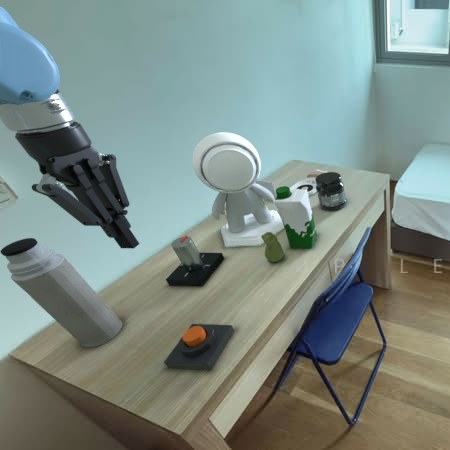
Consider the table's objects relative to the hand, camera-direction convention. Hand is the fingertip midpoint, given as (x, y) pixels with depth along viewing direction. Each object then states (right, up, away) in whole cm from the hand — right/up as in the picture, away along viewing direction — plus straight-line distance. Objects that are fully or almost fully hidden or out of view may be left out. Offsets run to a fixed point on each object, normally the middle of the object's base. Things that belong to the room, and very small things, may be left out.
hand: (130, 245), depth 61 cm
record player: (+14, +21, +75) cm, 79 cm away
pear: (+15, -7, +36) cm, 39 cm away
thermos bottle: (-20, -23, +15) cm, 34 cm away
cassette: (-3, +16, +69) cm, 71 cm away
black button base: (+7, -25, +11) cm, 28 cm away
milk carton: (+21, -2, +42) cm, 47 cm away
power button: (+7, -22, +9) cm, 24 cm away
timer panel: (-8, -10, +32) cm, 35 cm away
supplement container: (+27, +12, +62) cm, 68 cm away
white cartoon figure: (+1, +2, +50) cm, 50 cm away
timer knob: (-8, -8, +31) cm, 33 cm away
